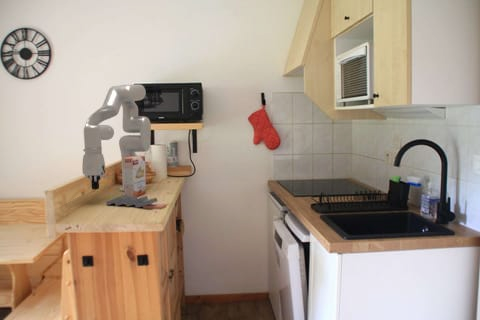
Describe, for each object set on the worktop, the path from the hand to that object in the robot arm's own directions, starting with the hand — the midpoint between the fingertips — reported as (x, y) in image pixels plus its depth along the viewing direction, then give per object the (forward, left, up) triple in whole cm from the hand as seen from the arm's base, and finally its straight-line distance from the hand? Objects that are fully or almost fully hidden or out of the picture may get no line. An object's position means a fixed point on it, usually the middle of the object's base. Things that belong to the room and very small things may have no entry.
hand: (95, 189), depth 177 cm
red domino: (+1, +28, -7) cm, 29 cm away
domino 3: (0, +19, -6) cm, 20 cm away
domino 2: (0, +13, -6) cm, 14 cm away
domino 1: (0, +8, -6) cm, 10 cm away
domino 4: (+1, +25, -6) cm, 25 cm away
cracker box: (-22, +8, -7) cm, 24 cm away
